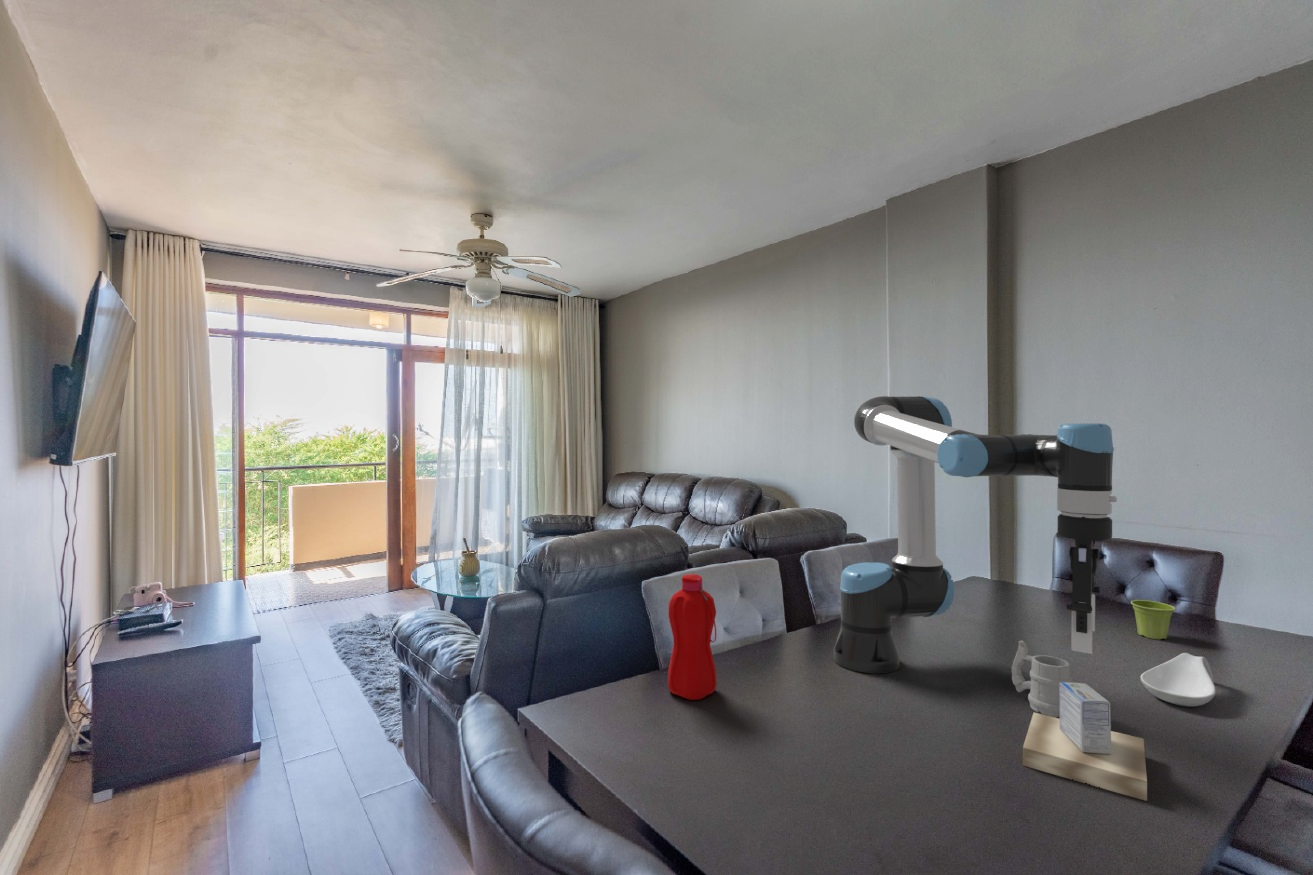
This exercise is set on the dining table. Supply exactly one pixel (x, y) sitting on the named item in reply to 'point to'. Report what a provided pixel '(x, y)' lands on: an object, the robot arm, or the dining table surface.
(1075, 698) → the medicine box
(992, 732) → the dining table surface
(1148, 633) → the plant pot
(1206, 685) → the spoon rest
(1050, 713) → the mug
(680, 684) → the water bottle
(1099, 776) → the birch stand
